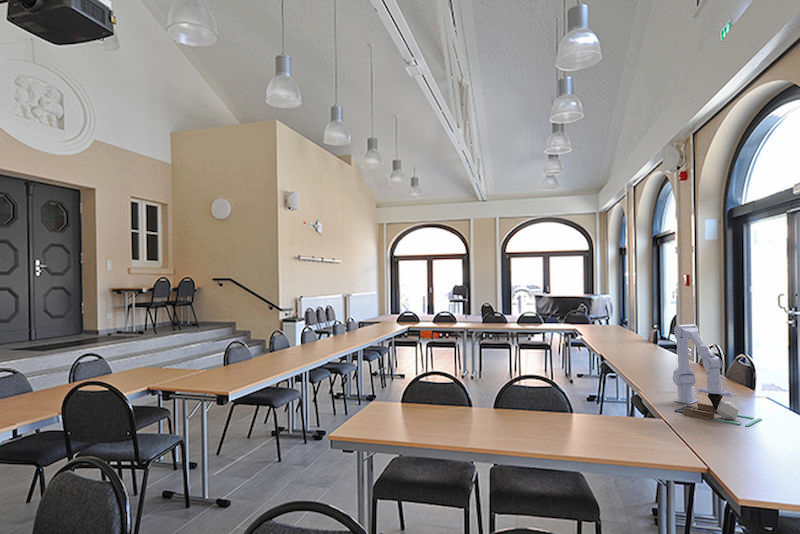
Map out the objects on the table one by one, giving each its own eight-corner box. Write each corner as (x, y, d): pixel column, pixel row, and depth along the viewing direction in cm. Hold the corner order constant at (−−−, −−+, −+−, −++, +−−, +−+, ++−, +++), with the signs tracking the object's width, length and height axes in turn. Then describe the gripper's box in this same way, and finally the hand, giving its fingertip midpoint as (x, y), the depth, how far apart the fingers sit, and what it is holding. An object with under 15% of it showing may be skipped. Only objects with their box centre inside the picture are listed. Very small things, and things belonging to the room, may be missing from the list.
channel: (699, 408, 237) (698, 402, 237) (727, 413, 226) (726, 407, 226) (684, 414, 229) (684, 408, 229) (713, 420, 218) (712, 413, 218)
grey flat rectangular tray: (686, 407, 241) (686, 405, 241) (696, 408, 237) (696, 406, 237) (674, 411, 235) (674, 409, 235) (685, 413, 230) (684, 411, 230)
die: (737, 417, 221) (722, 400, 226) (746, 413, 214) (730, 395, 219) (723, 425, 220) (709, 407, 225) (732, 421, 213) (716, 402, 218)
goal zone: (727, 413, 226) (727, 412, 226) (761, 420, 214) (761, 418, 214) (713, 420, 218) (713, 418, 218) (748, 426, 206) (748, 425, 206)
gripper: (694, 380, 228) (696, 407, 228) (726, 385, 216) (729, 413, 215) (700, 378, 232) (703, 405, 231) (733, 382, 220) (736, 410, 219)
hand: (716, 409), depth 224 cm, fingers closed
